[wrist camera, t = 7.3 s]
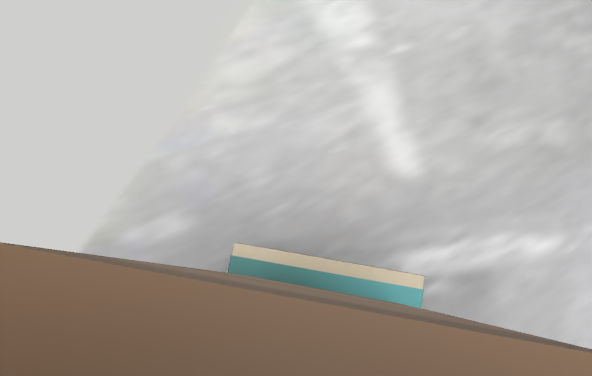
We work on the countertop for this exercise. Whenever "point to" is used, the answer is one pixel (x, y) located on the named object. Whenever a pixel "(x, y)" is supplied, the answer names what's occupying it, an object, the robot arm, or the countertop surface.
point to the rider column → (236, 327)
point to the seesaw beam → (327, 274)
